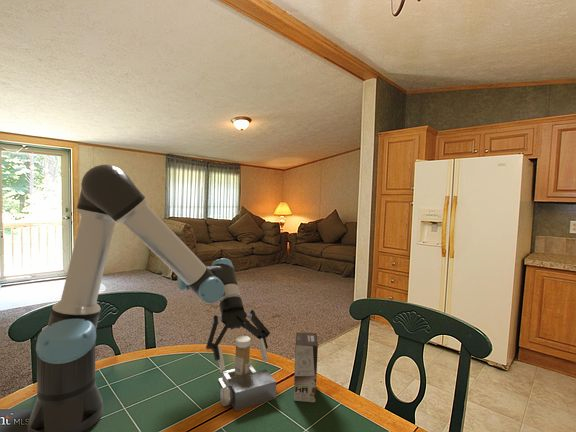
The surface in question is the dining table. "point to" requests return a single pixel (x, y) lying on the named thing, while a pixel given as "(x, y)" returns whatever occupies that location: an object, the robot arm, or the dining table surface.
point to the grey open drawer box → (246, 388)
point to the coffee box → (305, 367)
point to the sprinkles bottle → (242, 355)
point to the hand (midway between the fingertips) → (245, 365)
